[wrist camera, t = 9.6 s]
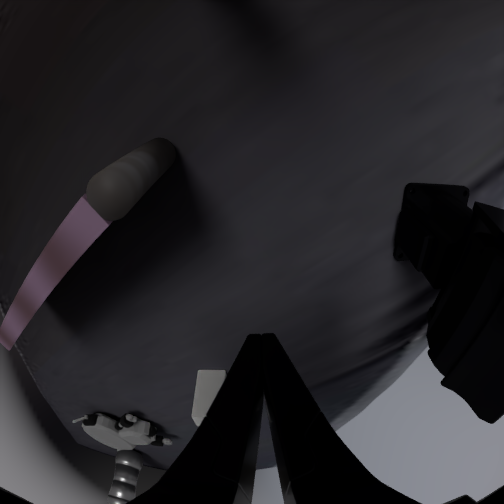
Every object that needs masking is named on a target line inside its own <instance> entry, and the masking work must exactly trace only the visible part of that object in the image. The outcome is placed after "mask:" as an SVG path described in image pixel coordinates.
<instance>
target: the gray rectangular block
mask: <svg viewBox="0 0 504 504" xmlns="http://www.w3.org/2000/svg"><path fill="white" fill-rule="evenodd" d="M226 376H227V375H226V371H225V370H198V375H197V382H196V389H195V396H194V403H193V410H192V418H193V420H194V422H195V423H196V425H197V426H200V424H201V422H202V420H203V418H204V417H205V416H206V413H207V411H208V410H209V408H210V406H211V404H212V402H213V400H214V399H215V397H216V395H217V393H218V391H219V389H220V387H221V386H222V384H223V382H224V380H225V378H226Z"/></svg>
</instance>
